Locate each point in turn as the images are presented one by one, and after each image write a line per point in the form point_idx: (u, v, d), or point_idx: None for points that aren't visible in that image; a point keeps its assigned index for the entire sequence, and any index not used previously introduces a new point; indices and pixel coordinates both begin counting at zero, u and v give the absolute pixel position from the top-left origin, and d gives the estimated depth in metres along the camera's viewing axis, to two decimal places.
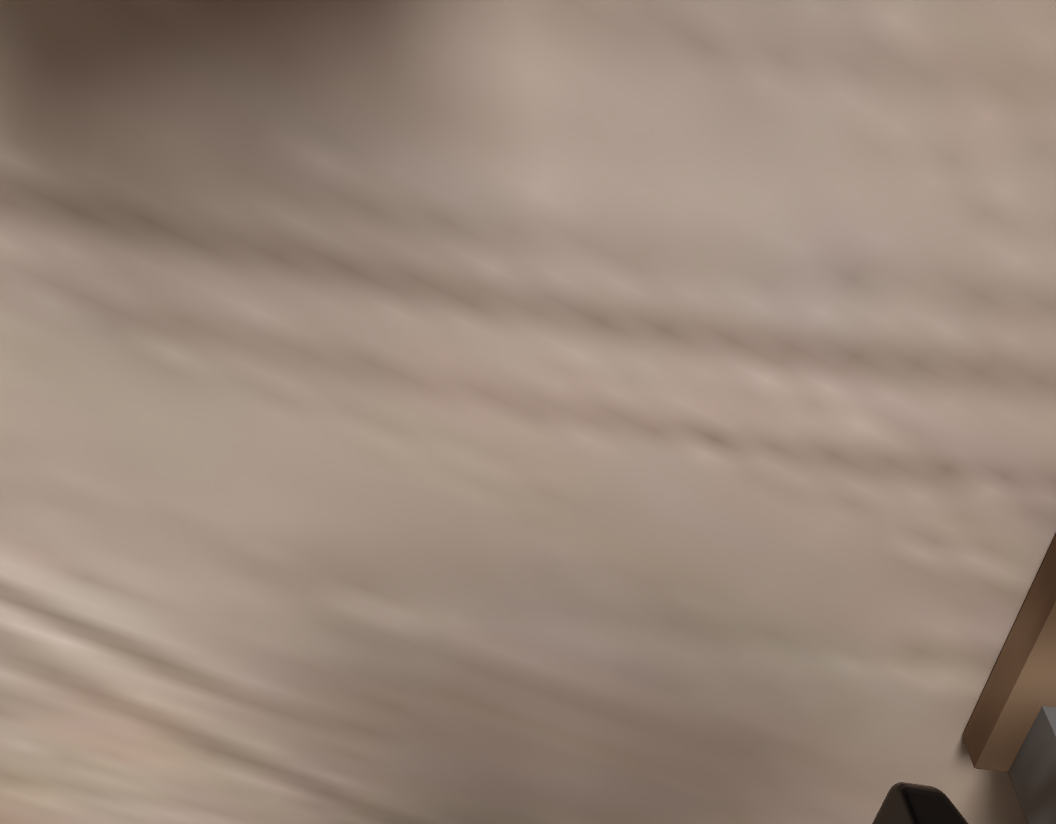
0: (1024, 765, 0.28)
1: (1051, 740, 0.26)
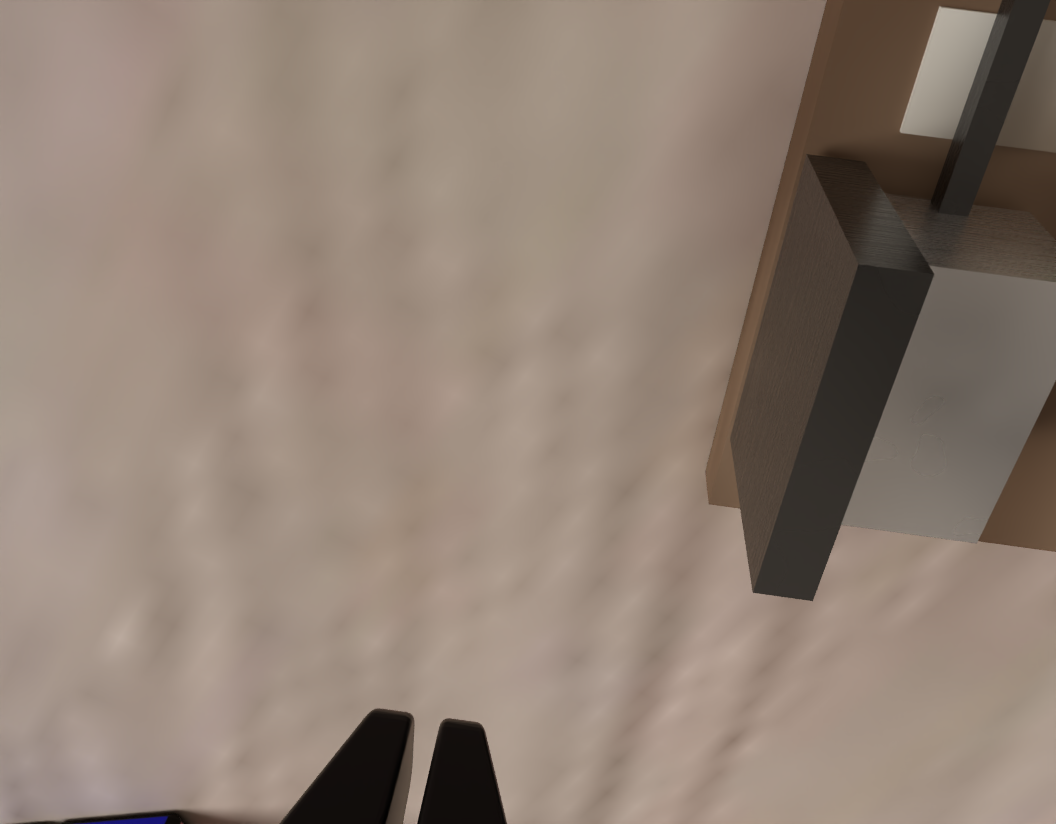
0: None
1: None
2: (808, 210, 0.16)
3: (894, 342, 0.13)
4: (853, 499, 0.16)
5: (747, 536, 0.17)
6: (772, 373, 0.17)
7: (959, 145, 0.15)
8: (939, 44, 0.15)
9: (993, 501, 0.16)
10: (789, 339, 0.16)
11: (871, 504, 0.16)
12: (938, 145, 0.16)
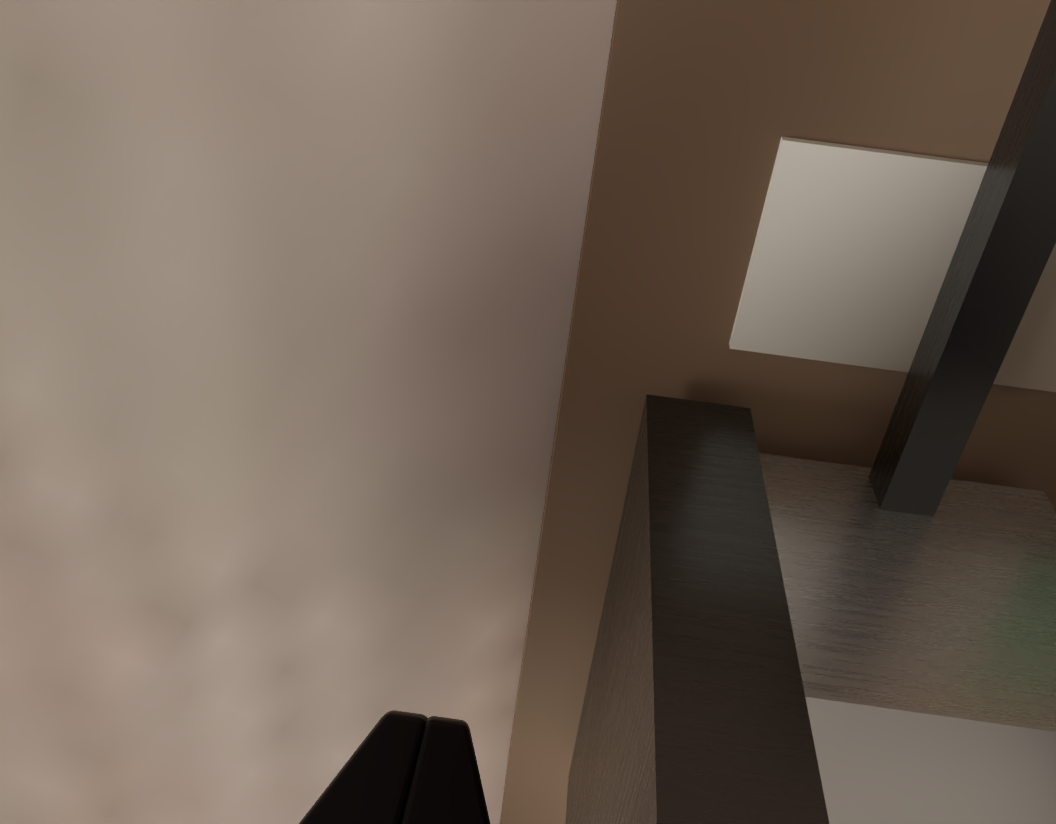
0: None
1: None
2: (637, 517, 0.08)
3: None
4: None
5: None
6: (591, 771, 0.09)
7: (915, 401, 0.08)
8: (786, 201, 0.08)
9: None
10: (604, 751, 0.09)
11: None
12: (799, 367, 0.09)
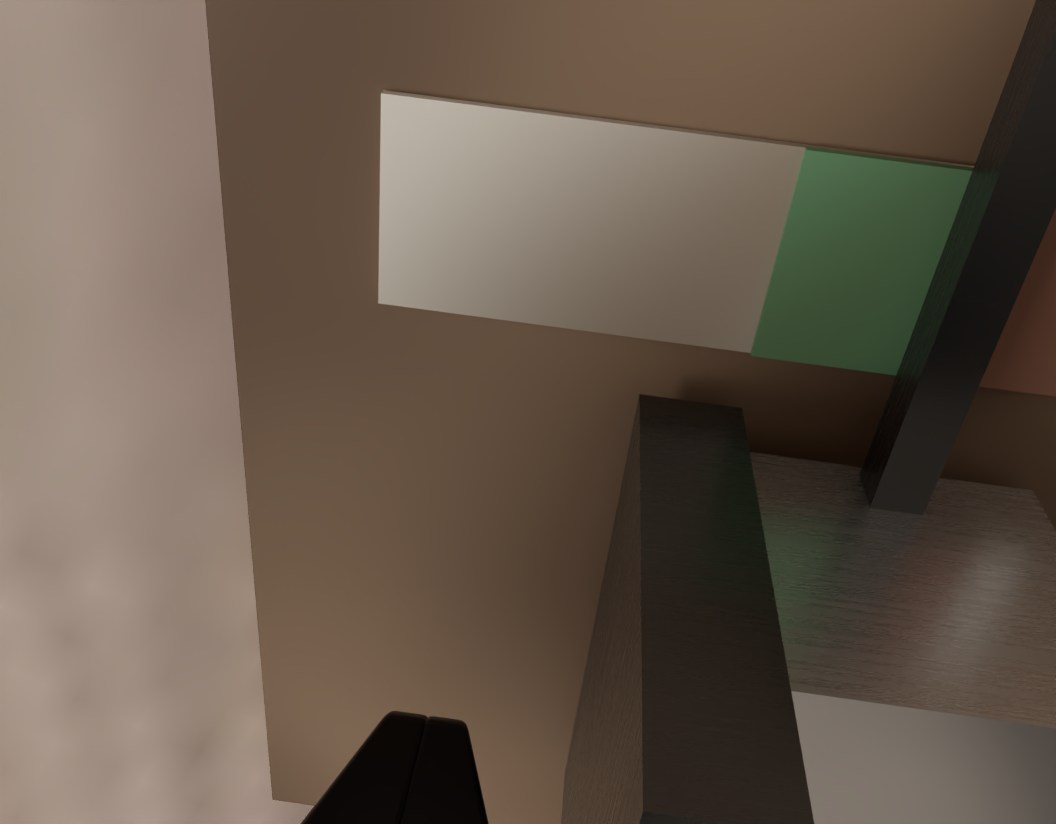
0: None
1: None
2: (629, 515, 0.09)
3: None
4: None
5: None
6: (585, 767, 0.10)
7: (903, 400, 0.08)
8: (403, 155, 0.08)
9: None
10: (597, 746, 0.09)
11: None
12: (452, 323, 0.09)
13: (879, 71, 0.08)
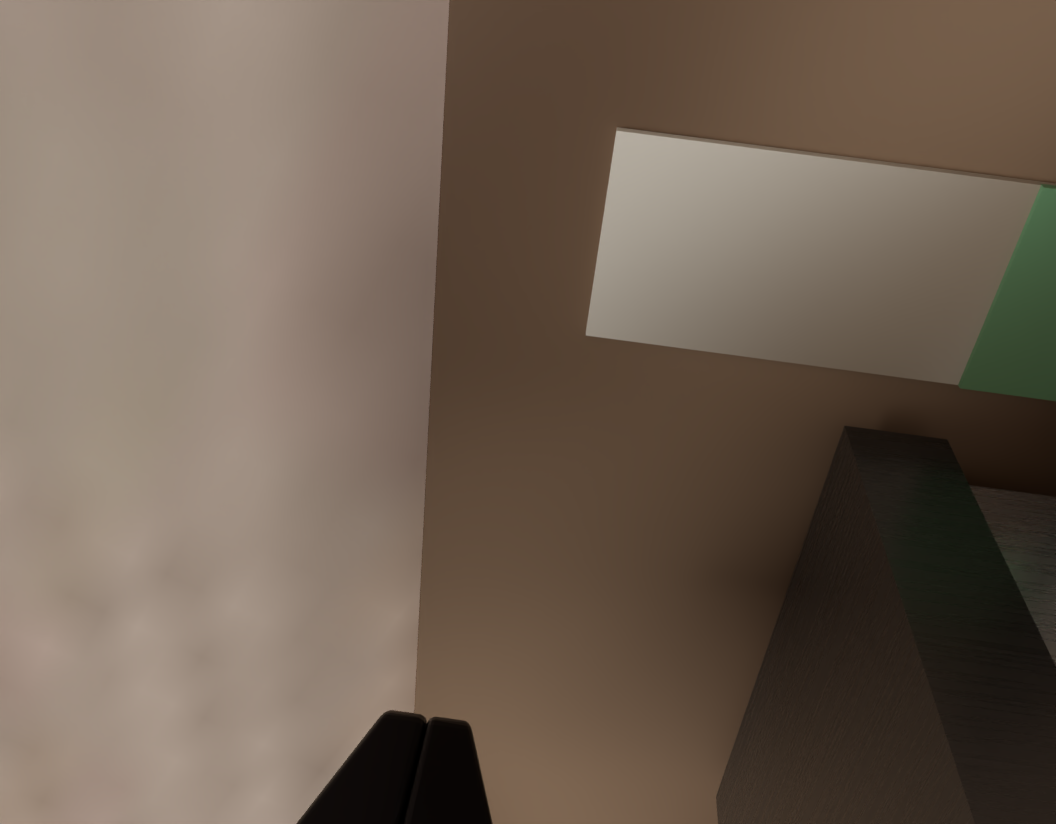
0: None
1: None
2: (850, 549, 0.09)
3: None
4: None
5: None
6: (784, 796, 0.10)
7: None
8: (628, 191, 0.08)
9: None
10: (816, 778, 0.09)
11: None
12: (656, 354, 0.09)
13: None
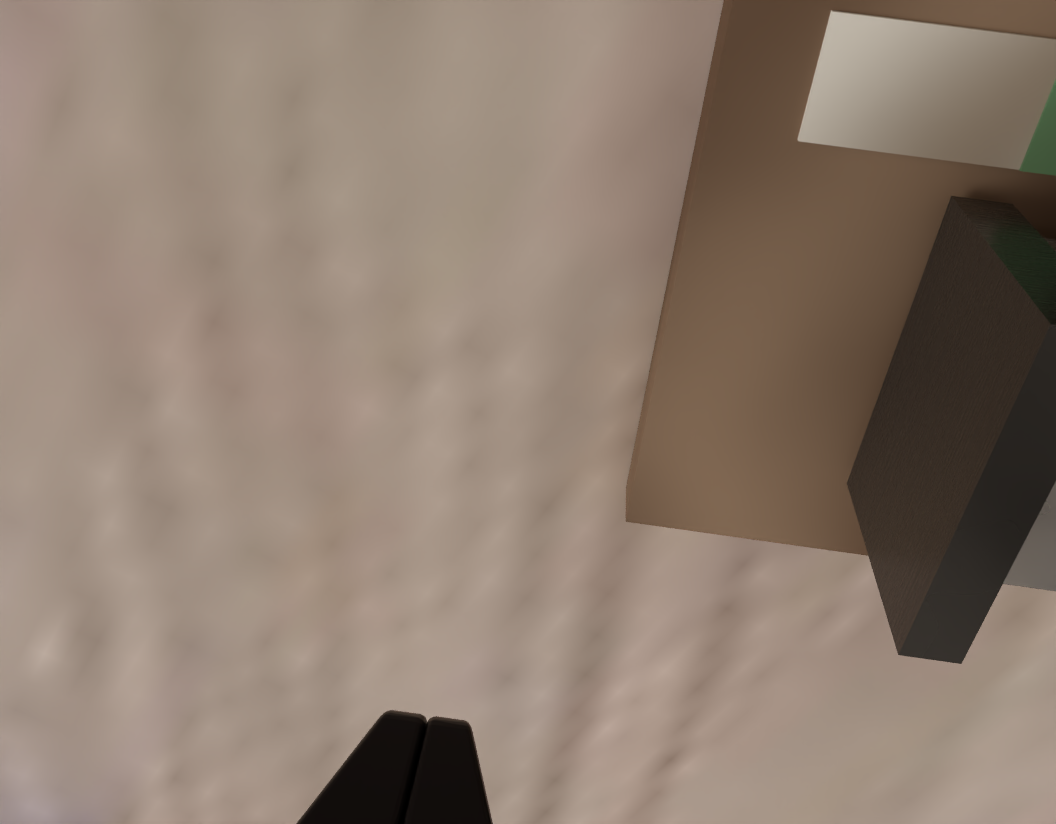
0: None
1: None
2: (959, 256, 0.15)
3: None
4: None
5: (884, 592, 0.16)
6: (912, 423, 0.16)
7: None
8: (833, 49, 0.15)
9: None
10: (938, 390, 0.15)
11: (1016, 560, 0.16)
12: (838, 154, 0.16)
13: None
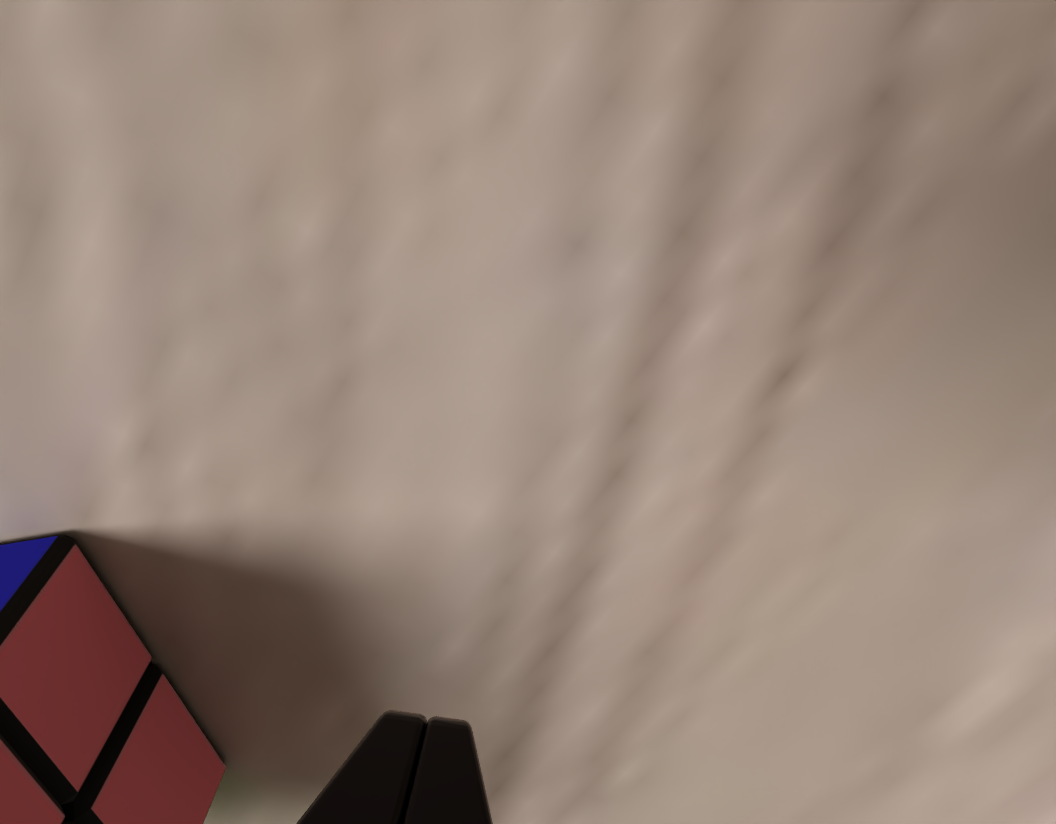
0: None
1: None
2: None
3: None
4: None
5: None
6: None
7: None
8: None
9: None
10: None
11: None
12: None
13: None
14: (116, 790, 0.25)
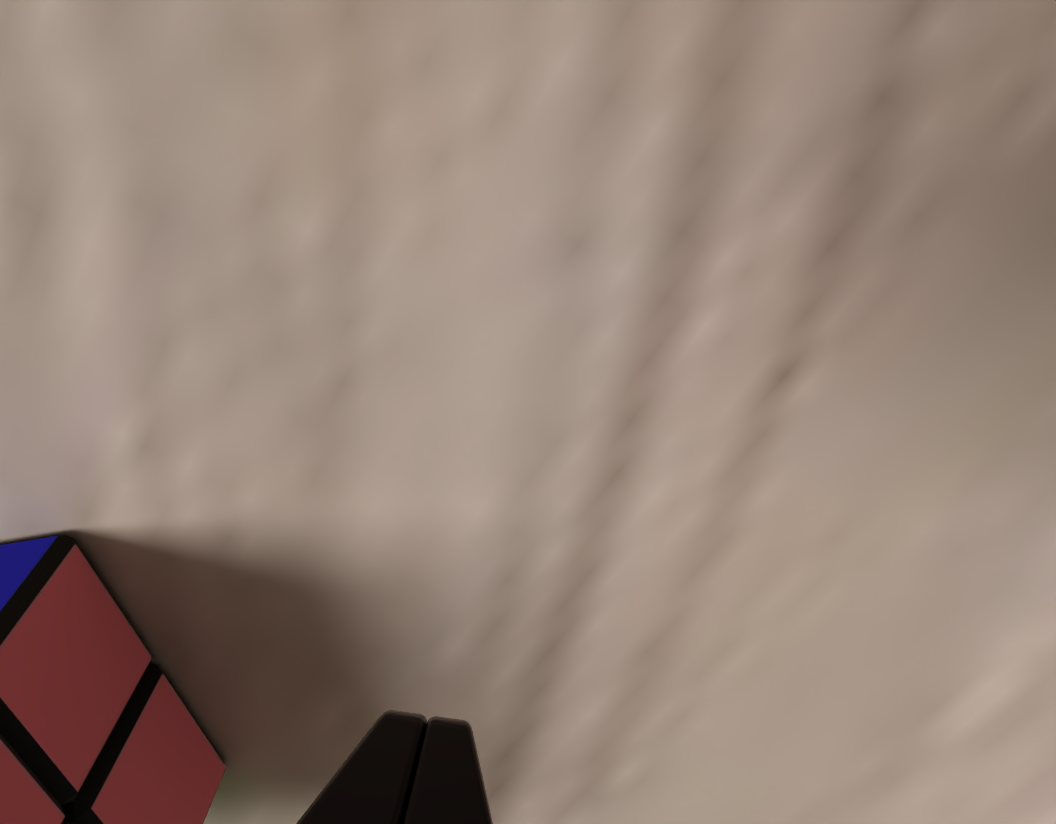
0: None
1: None
2: None
3: None
4: None
5: None
6: None
7: None
8: None
9: None
10: None
11: None
12: None
13: None
14: (116, 789, 0.25)
